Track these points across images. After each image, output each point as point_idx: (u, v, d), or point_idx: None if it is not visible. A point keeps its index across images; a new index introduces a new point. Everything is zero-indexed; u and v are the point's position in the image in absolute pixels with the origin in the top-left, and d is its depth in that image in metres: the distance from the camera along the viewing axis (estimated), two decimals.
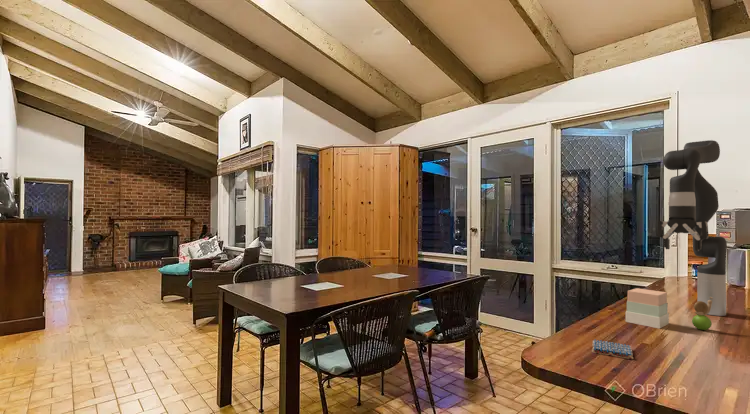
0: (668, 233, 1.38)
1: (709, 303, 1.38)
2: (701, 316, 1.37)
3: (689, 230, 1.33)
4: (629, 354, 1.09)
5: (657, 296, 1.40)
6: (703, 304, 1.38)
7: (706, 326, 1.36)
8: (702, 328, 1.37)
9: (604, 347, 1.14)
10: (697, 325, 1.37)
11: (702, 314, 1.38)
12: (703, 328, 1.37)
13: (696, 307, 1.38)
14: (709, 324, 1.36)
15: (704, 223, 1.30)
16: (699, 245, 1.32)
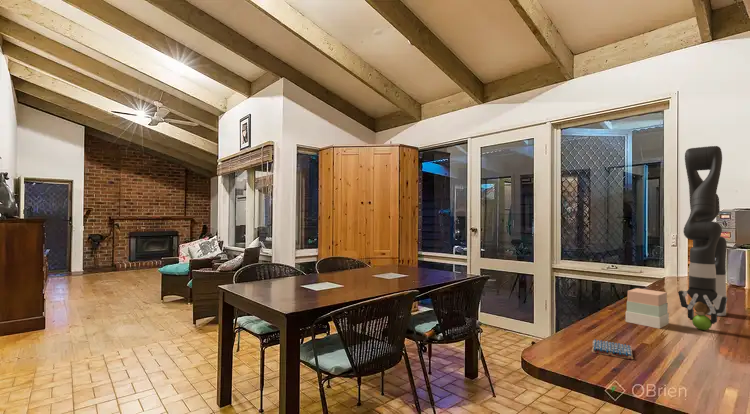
0: (691, 304, 1.40)
1: None
2: (701, 316, 1.37)
3: (708, 302, 1.36)
4: (629, 354, 1.09)
5: (657, 296, 1.40)
6: (703, 304, 1.38)
7: (706, 326, 1.36)
8: (702, 328, 1.37)
9: (604, 347, 1.14)
10: (697, 325, 1.37)
11: (702, 314, 1.38)
12: (703, 328, 1.37)
13: (696, 307, 1.38)
14: (709, 324, 1.36)
15: (724, 299, 1.33)
16: (715, 318, 1.35)
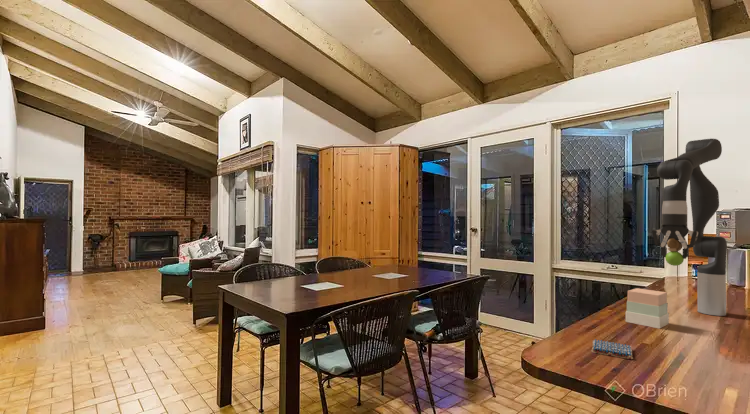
0: (664, 241, 1.44)
1: None
2: (673, 252, 1.41)
3: (679, 238, 1.40)
4: (629, 354, 1.09)
5: (657, 296, 1.40)
6: (676, 240, 1.42)
7: (678, 261, 1.40)
8: (675, 263, 1.41)
9: (604, 347, 1.14)
10: (670, 261, 1.41)
11: (675, 250, 1.42)
12: (675, 263, 1.40)
13: (669, 243, 1.42)
14: (681, 259, 1.40)
15: (695, 233, 1.37)
16: (686, 253, 1.39)
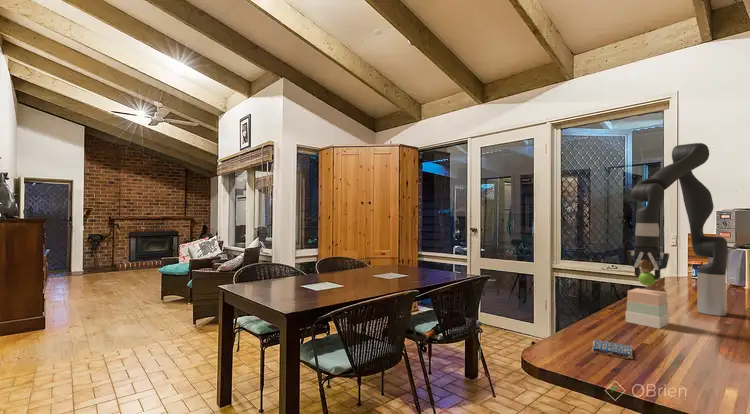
0: (637, 262, 1.48)
1: None
2: (646, 273, 1.46)
3: (651, 259, 1.44)
4: (628, 354, 1.09)
5: (657, 296, 1.40)
6: (648, 262, 1.46)
7: (650, 282, 1.44)
8: (647, 284, 1.45)
9: (604, 347, 1.14)
10: (642, 281, 1.46)
11: (647, 271, 1.46)
12: (647, 284, 1.45)
13: (641, 264, 1.46)
14: (653, 280, 1.44)
15: (666, 255, 1.41)
16: (658, 274, 1.44)
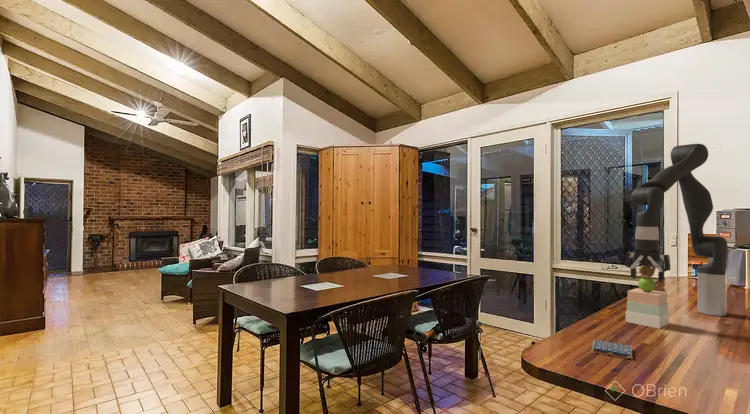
0: (635, 264, 1.49)
1: (653, 266, 1.46)
2: (645, 279, 1.46)
3: (653, 262, 1.44)
4: (628, 354, 1.09)
5: (657, 296, 1.40)
6: (647, 267, 1.46)
7: (650, 287, 1.44)
8: (647, 290, 1.45)
9: (604, 347, 1.14)
10: (642, 287, 1.46)
11: (647, 277, 1.46)
12: (647, 290, 1.45)
13: (641, 270, 1.47)
14: (653, 285, 1.44)
15: (666, 256, 1.41)
16: (662, 276, 1.43)
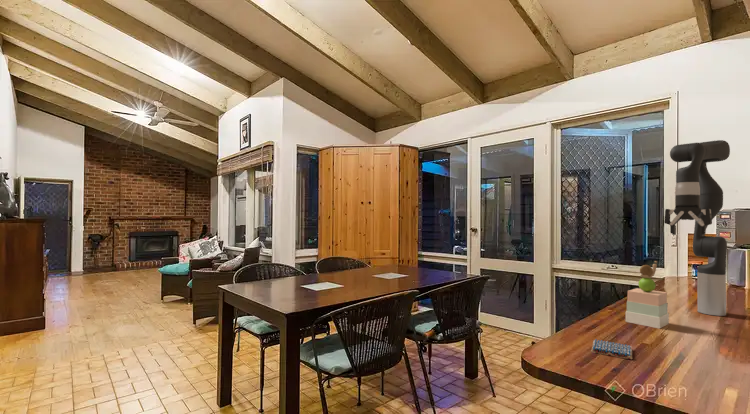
0: (675, 220, 1.50)
1: (654, 266, 1.46)
2: (645, 279, 1.46)
3: (694, 217, 1.45)
4: (628, 354, 1.09)
5: (657, 296, 1.40)
6: (648, 267, 1.46)
7: (650, 288, 1.44)
8: (647, 290, 1.45)
9: (603, 347, 1.14)
10: (642, 287, 1.46)
11: (647, 277, 1.46)
12: (647, 290, 1.45)
13: (641, 270, 1.46)
14: (653, 286, 1.44)
15: (708, 210, 1.42)
16: (703, 230, 1.44)
